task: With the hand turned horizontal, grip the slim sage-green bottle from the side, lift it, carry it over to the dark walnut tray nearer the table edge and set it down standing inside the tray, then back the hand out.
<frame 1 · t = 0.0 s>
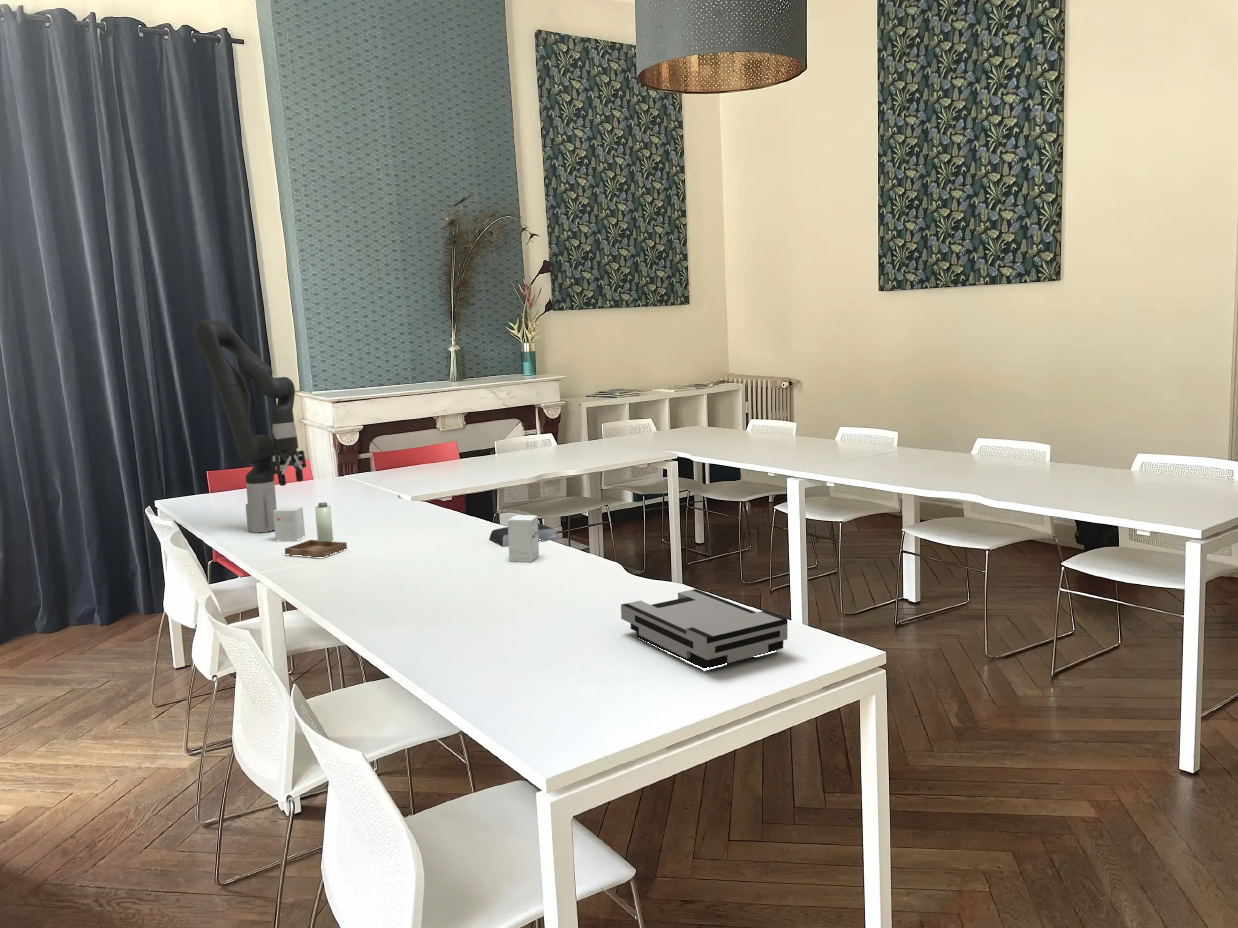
hand: (291, 483, 325), 17 cm above the table, tool pointing down, fingers open, 8 cm apart
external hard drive: (523, 541, 309), on the table
small box: (290, 540, 317), on the table
game console: (701, 645, 206), on the table
tray: (316, 552, 297), on the table
supplement box: (524, 559, 283), on the table
bottle: (325, 542, 310), on the table
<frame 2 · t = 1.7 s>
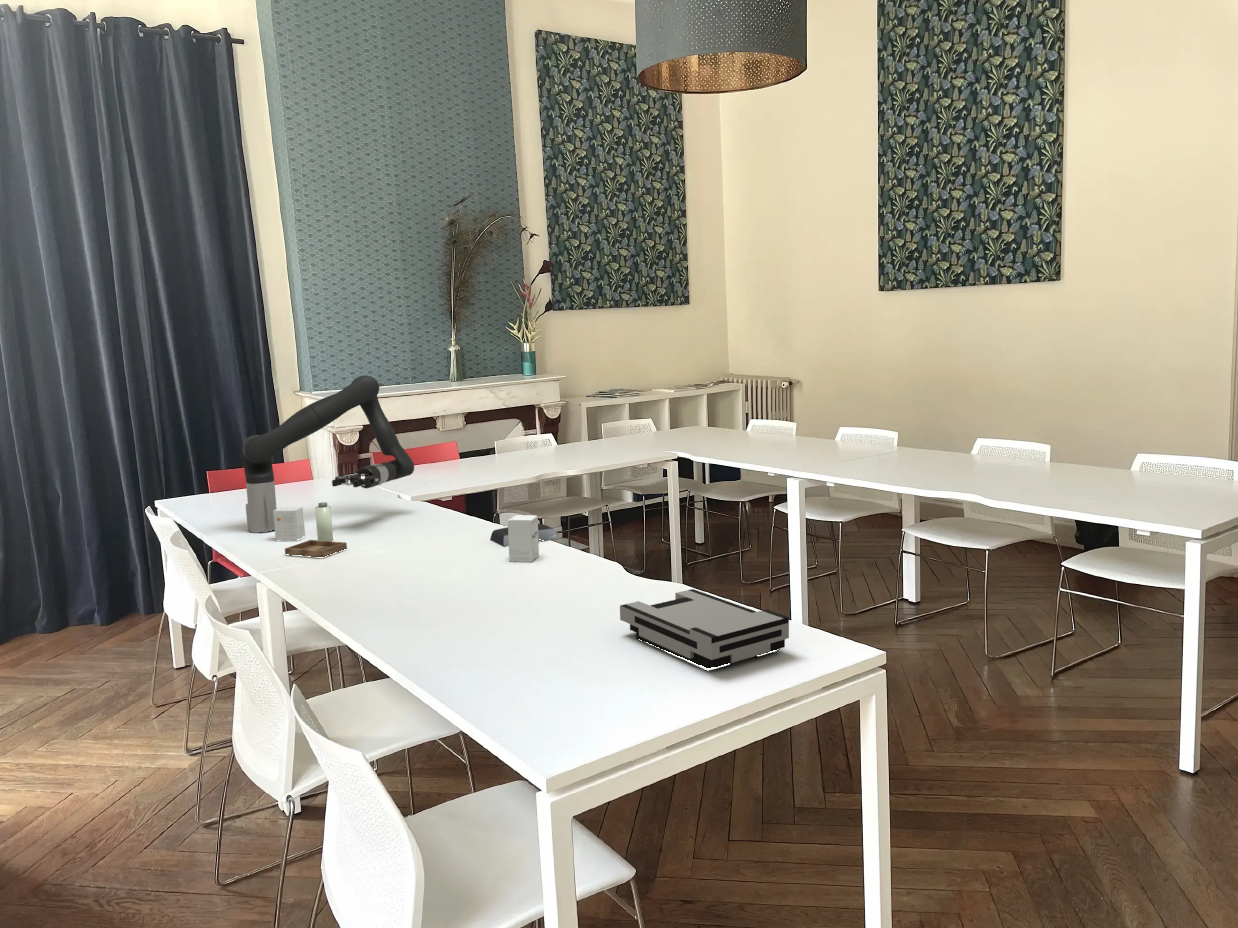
hand: (343, 483, 318), 18 cm above the table, tool horizontal, fingers open, 8 cm apart
nothing on the table moved.
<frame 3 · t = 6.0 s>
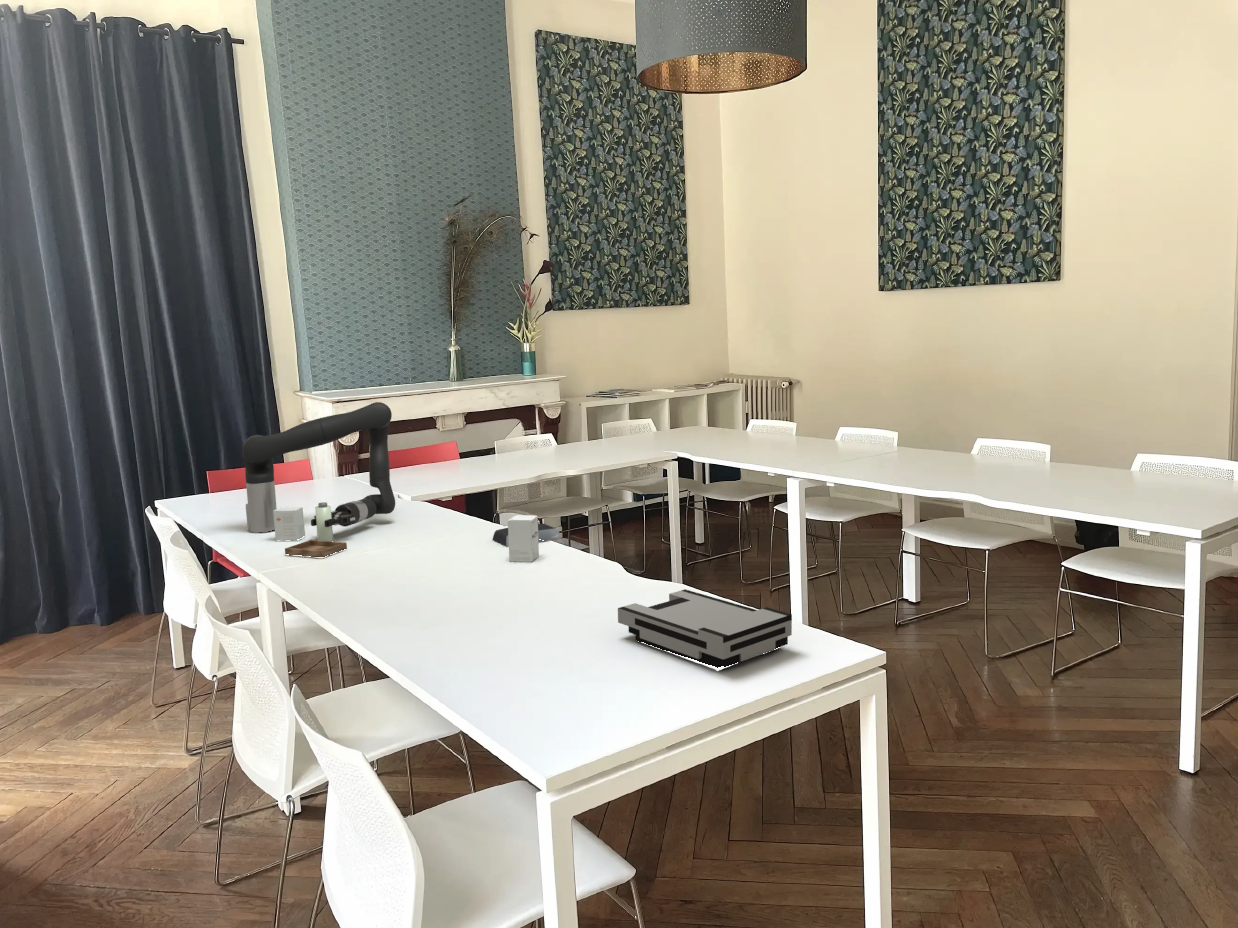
hand: (318, 523, 307), 7 cm above the table, tool horizontal, fingers closed on bottle, 4 cm apart
bottle: (325, 542, 310), on the table, touching gripper
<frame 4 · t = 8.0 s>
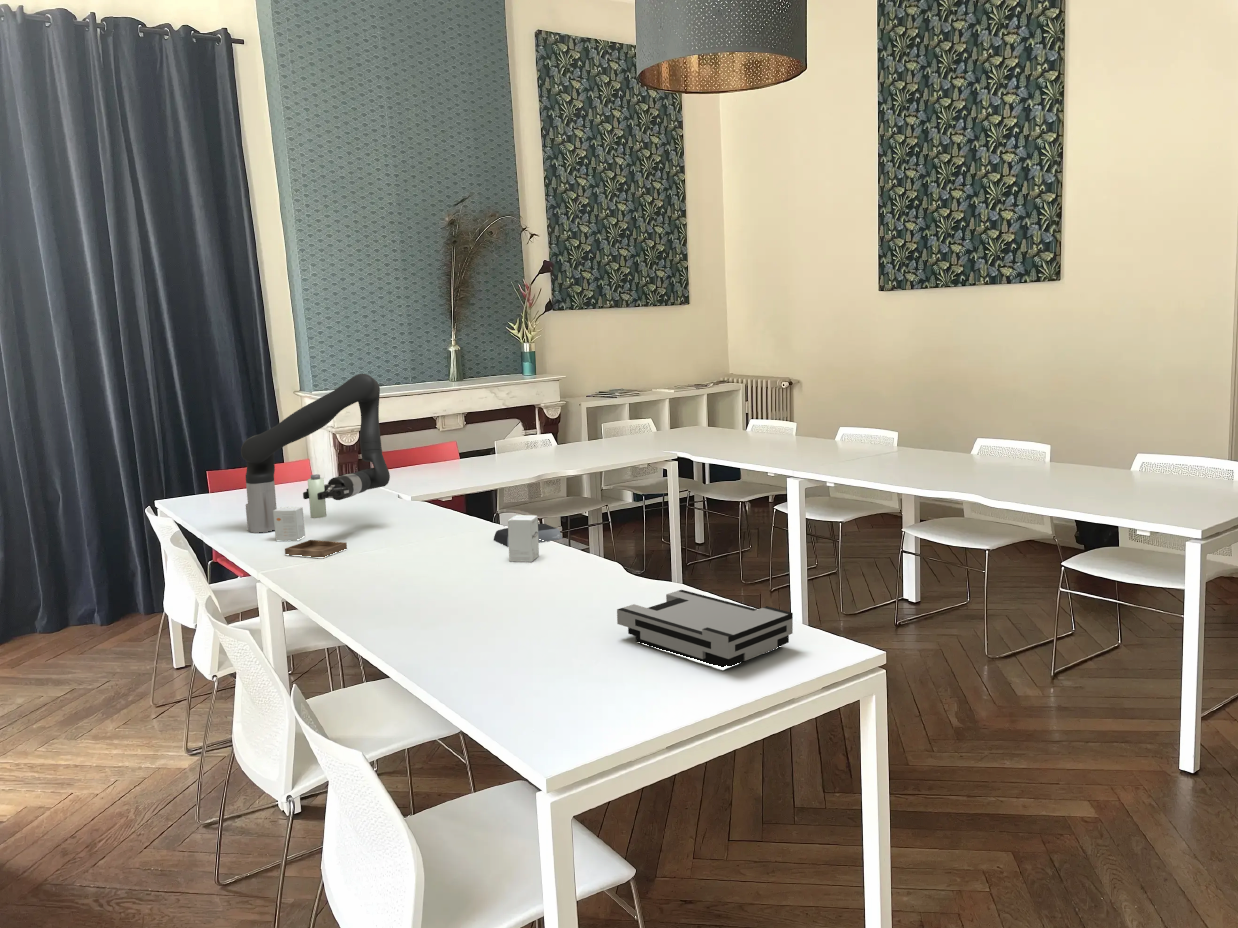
hand: (311, 496, 295), 18 cm above the table, tool horizontal, fingers closed on bottle, 4 cm apart
bottle: (318, 516, 299), point 11 cm above the table, touching gripper
when the fingers open (9 cm above the table, at t = 10.4 s): bottle stays where it is, resting on tray.
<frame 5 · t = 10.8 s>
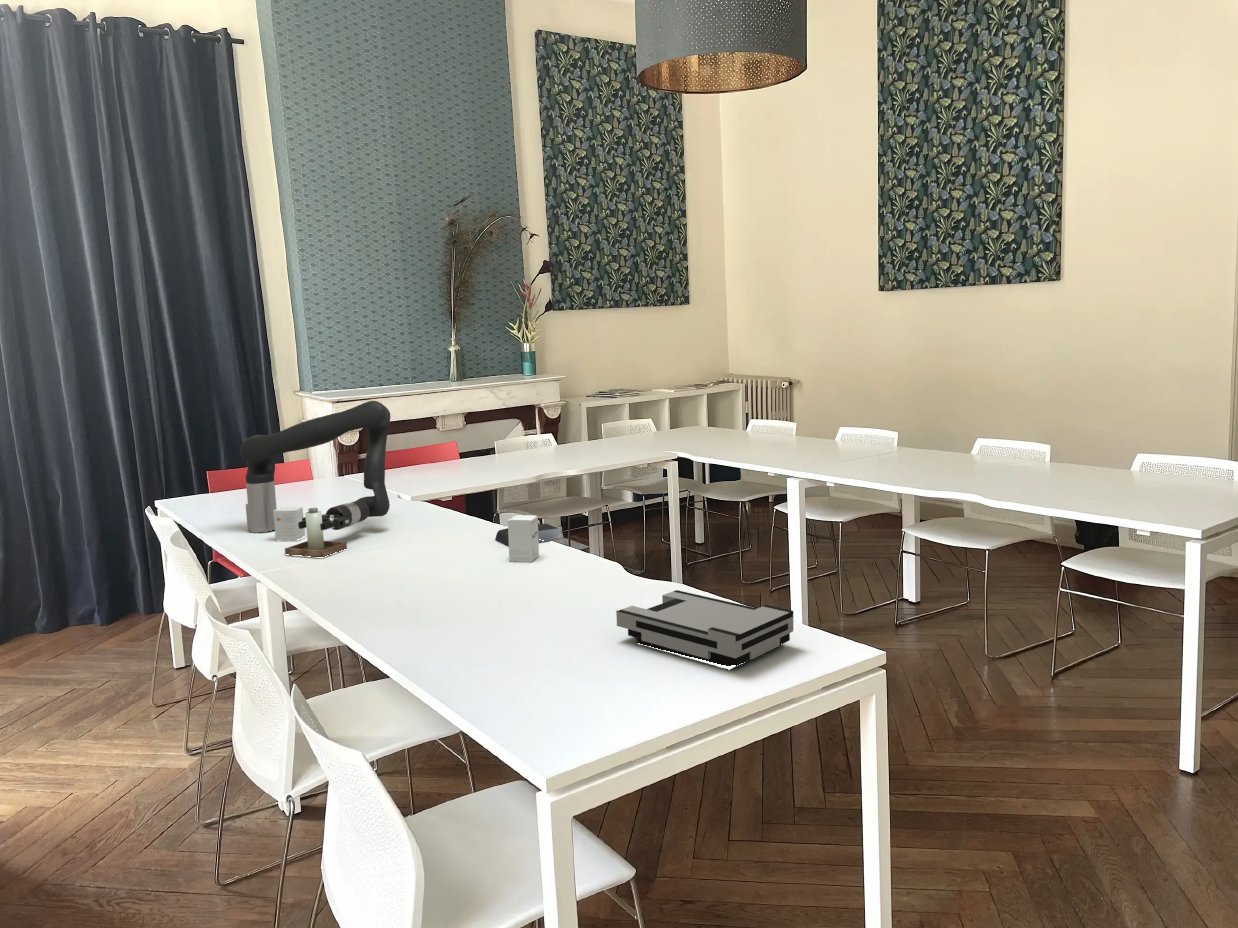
hand: (310, 526, 294), 9 cm above the table, tool horizontal, fingers open, 8 cm apart
bottle: (316, 549, 297), point 1 cm above the table, touching tray
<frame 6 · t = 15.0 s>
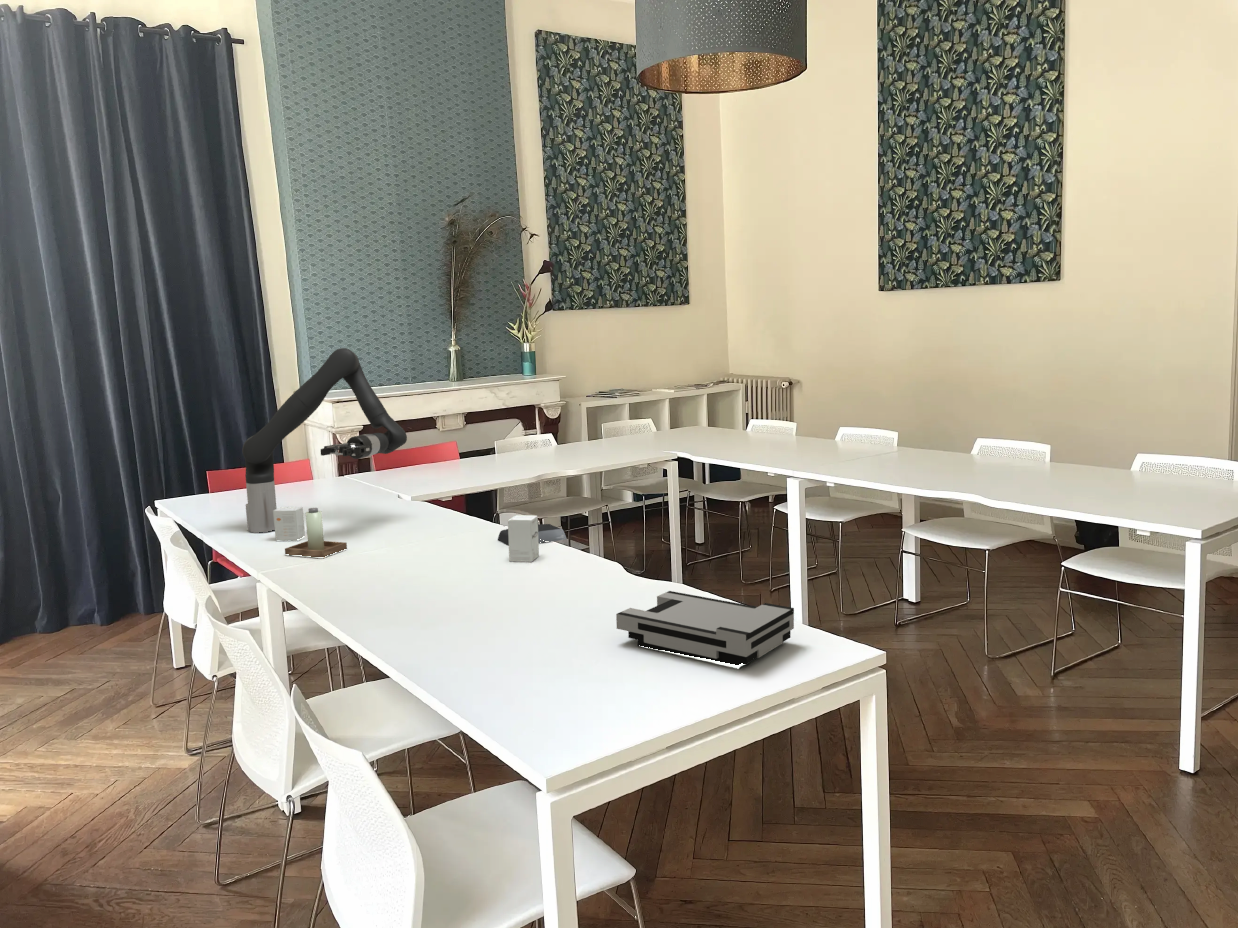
hand: (332, 452, 303), 30 cm above the table, tool horizontal, fingers open, 8 cm apart
at the end: bottle inside the target area on the tray (0.1 cm from its centre), point 0.8 cm above the tray's base; bottle tilted 1°; the gripper is holding nothing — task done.
